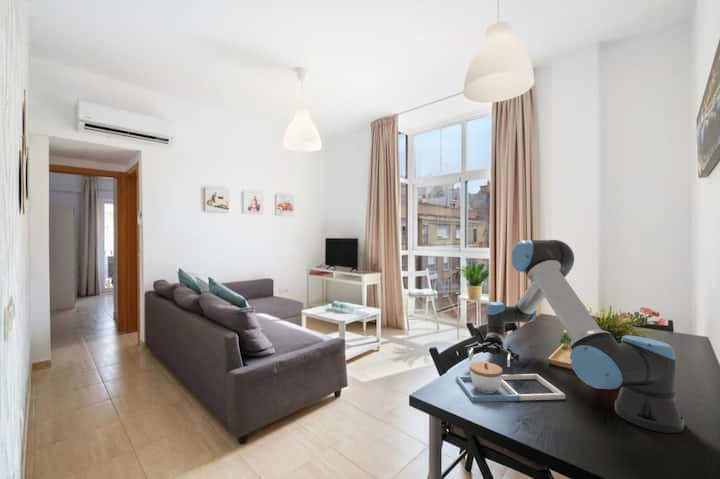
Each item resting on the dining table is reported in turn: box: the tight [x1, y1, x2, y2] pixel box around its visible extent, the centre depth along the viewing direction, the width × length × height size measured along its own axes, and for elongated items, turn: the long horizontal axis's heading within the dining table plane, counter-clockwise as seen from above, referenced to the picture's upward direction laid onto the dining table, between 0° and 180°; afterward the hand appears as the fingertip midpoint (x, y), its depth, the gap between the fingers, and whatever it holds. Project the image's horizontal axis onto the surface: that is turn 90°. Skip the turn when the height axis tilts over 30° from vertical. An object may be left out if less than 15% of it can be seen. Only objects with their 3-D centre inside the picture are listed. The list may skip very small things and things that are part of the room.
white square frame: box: [500, 373, 566, 401], centre depth 114 cm, size 16×16×2 cm
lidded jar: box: [469, 361, 504, 395], centre depth 113 cm, size 11×11×9 cm
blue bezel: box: [455, 375, 519, 403], centre depth 113 cm, size 16×16×2 cm
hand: (488, 360), depth 121 cm, fingers open, 13 cm apart
